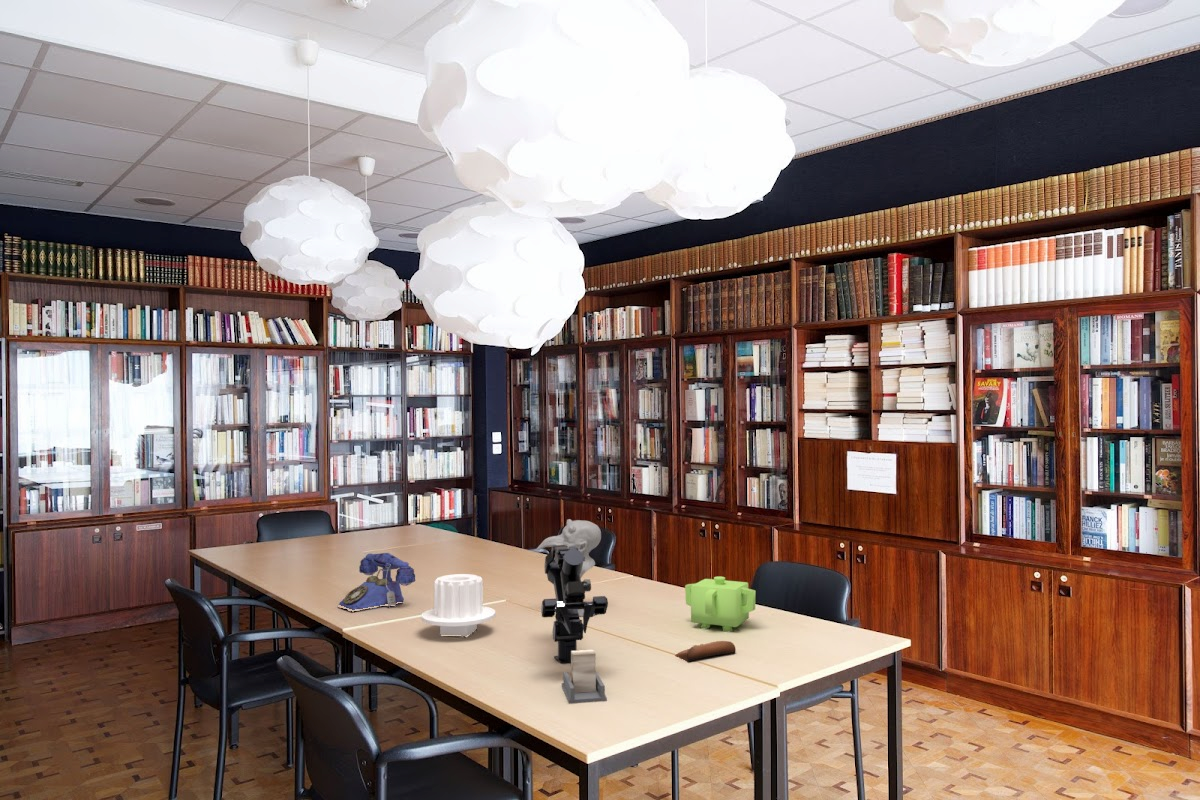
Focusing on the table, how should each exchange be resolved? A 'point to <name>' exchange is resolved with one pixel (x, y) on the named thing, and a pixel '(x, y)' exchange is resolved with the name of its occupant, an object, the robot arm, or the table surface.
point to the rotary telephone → (379, 582)
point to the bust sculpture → (577, 542)
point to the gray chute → (583, 696)
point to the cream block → (583, 670)
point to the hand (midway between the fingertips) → (577, 632)
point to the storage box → (720, 602)
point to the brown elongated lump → (706, 650)
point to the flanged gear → (458, 605)
